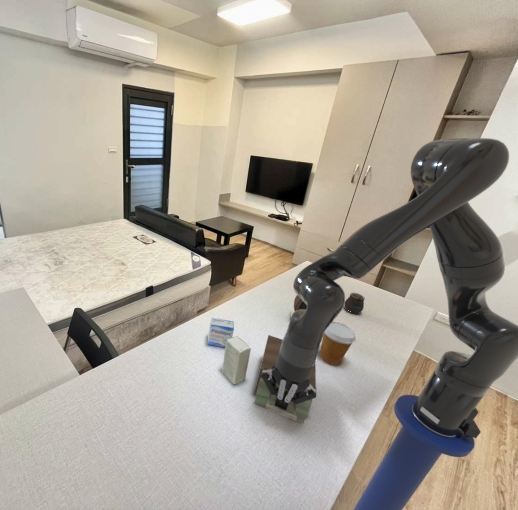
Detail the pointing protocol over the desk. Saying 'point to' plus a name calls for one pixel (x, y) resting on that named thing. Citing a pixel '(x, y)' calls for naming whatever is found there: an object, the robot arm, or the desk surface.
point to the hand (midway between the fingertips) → (279, 408)
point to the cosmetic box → (236, 359)
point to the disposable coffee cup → (336, 342)
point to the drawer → (292, 410)
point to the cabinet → (271, 358)
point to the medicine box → (220, 332)
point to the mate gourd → (355, 303)
